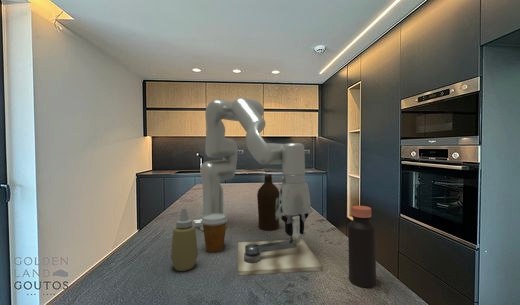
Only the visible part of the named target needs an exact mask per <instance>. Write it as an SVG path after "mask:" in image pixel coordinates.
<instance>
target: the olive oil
mask: <svg viewBox="0 0 520 305" xmlns="http://www.w3.org/2000/svg"><path fill="white" fill-rule="evenodd" d="M272 175H273V174H271V173H265V174H264V183H262V184H261V186H260V187H259V188H258V190H257V192H256V193H257V194H256V197H257V199H256V200H257V212H258V229H260V230H262V231H276V230H277V229H279V228H280V218H279V217H277V216H276V215H275V213H276V211H277V209H278V208H279V193H280V189H278V187H277V186H276V185H275V184H274V183H273V177H272Z"/></svg>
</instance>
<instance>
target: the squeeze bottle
mask: <svg viewBox="0 0 520 305" xmlns="http://www.w3.org/2000/svg"><path fill="white" fill-rule="evenodd" d="M175 225H176V227H175V228H174V229H173V230H172V240H171V249H170V250H171V252H170V259H171V262H172V265H173V268H174V270H176V271H179V272H184V271H189V270H191V269H193V268H194V267H195V265H196V263H197V259H198V255H199V252H198V250H199V249H198V243H197V232H196V226H193V220H192V219H191V218H189V215H188V211H187V208H182V209H181V212H180V217H179V219H178V220H176V224H175Z"/></svg>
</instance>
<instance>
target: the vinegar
mask: <svg viewBox="0 0 520 305" xmlns="http://www.w3.org/2000/svg"><path fill="white" fill-rule="evenodd" d="M351 217H352V220H351V221H350V222H349V224H348V227H347V228H348V230H347V231H348V232H347V233H348V237H347V238H348V279H349V282H351V283H352V284H353V285H355V286H356V287H357V286H358V287H361V288H365V289H367V288H373V287H375V285H376V284H377V258H376V257H377V251H376V248H377V246H376V243H377V242H376V235H377V234H376V226H375V225H374V224H373V222H371V219H372V208H371V207H369V206H366V205H353V206H351Z"/></svg>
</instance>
